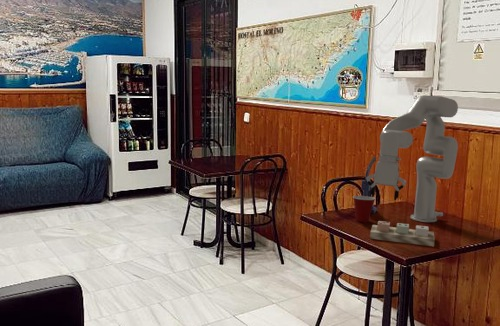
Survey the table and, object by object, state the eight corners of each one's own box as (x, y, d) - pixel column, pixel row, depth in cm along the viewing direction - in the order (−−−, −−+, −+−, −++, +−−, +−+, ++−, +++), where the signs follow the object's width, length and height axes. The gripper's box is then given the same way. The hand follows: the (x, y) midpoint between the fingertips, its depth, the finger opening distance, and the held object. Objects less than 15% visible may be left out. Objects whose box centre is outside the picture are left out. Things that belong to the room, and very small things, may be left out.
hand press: (371, 216, 256) (375, 161, 251) (354, 213, 259) (358, 159, 255) (379, 208, 272) (383, 157, 268) (363, 206, 276) (367, 155, 272)
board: (432, 238, 221) (433, 231, 221) (434, 246, 210) (434, 239, 209) (372, 231, 229) (372, 224, 228) (370, 238, 217) (370, 231, 217)
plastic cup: (372, 218, 251) (374, 194, 249) (375, 224, 240) (377, 199, 238) (350, 217, 252) (351, 193, 250) (352, 222, 241) (354, 198, 239)
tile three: (389, 229, 223) (390, 221, 222) (388, 232, 218) (389, 224, 218) (377, 228, 224) (378, 220, 224) (377, 231, 220) (377, 223, 219)
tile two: (408, 231, 220) (409, 223, 220) (408, 234, 216) (408, 226, 215) (396, 230, 222) (397, 222, 221) (396, 233, 217) (396, 225, 217)
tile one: (427, 234, 218) (428, 226, 218) (427, 237, 213) (428, 229, 213) (415, 232, 220) (416, 224, 219) (415, 235, 215) (416, 227, 214)
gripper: (409, 160, 220) (405, 199, 222) (369, 156, 227) (366, 194, 229) (407, 162, 213) (403, 202, 215) (366, 157, 220) (362, 196, 222)
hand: (384, 197), depth 222 cm, fingers open, 9 cm apart
